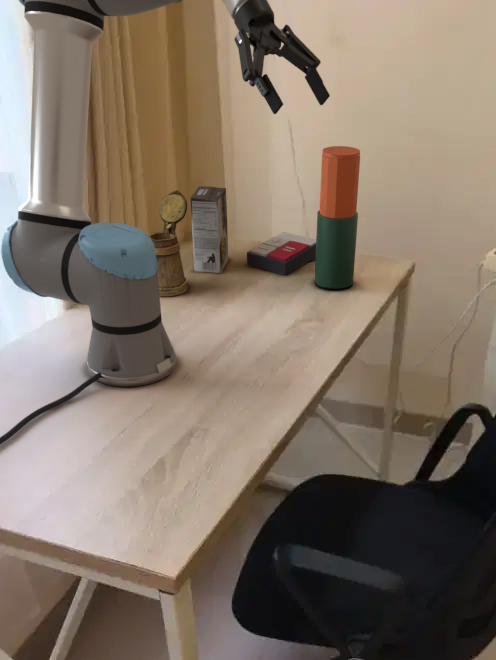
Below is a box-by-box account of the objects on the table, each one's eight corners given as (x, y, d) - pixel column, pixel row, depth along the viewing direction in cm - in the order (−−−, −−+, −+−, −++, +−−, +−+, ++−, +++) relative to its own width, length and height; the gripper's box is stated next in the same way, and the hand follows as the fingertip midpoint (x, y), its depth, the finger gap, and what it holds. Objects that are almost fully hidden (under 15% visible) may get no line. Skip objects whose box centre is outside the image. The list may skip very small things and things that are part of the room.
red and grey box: (245, 249, 169) (283, 228, 178) (246, 267, 172) (283, 246, 181) (285, 259, 164) (322, 237, 173) (286, 278, 167) (321, 256, 176)
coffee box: (202, 257, 175) (198, 185, 165) (229, 259, 174) (227, 186, 164) (193, 271, 168) (188, 197, 158) (221, 273, 167) (218, 198, 157)
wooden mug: (202, 276, 166) (197, 191, 155) (177, 299, 155) (170, 210, 144) (165, 271, 168) (158, 187, 157) (138, 293, 157) (128, 205, 146)
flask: (328, 294, 158) (333, 206, 147) (306, 280, 164) (309, 195, 153) (361, 286, 162) (368, 200, 151) (338, 273, 168) (343, 190, 157)
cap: (333, 220, 150) (336, 156, 143) (312, 211, 155) (315, 148, 148) (362, 215, 153) (367, 152, 146) (341, 205, 158) (345, 144, 151)
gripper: (283, 20, 158) (332, 109, 159) (193, 28, 143) (248, 126, 144) (302, -9, 152) (353, 84, 153) (210, -4, 137) (267, 99, 138)
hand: (302, 105), depth 148 cm, fingers open, 13 cm apart
